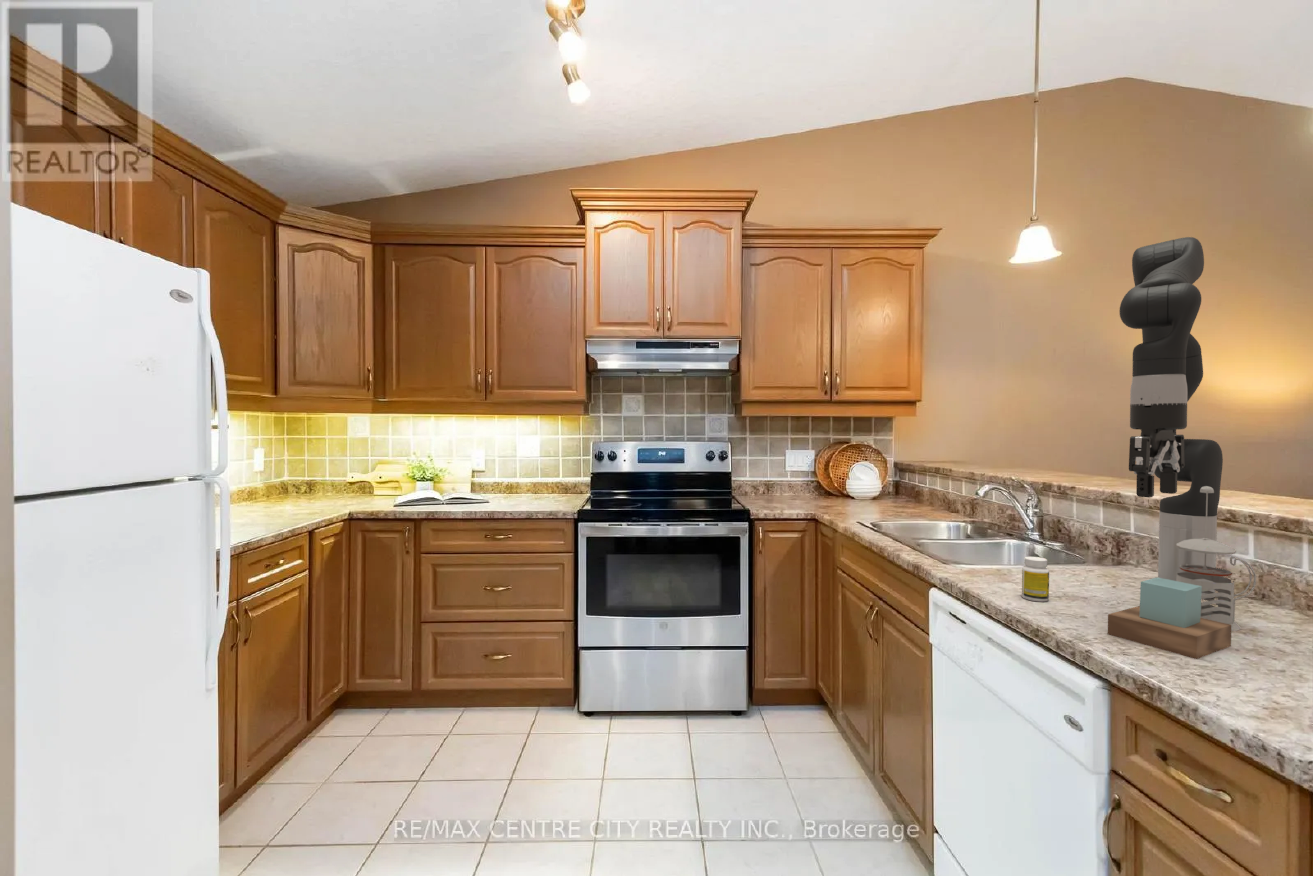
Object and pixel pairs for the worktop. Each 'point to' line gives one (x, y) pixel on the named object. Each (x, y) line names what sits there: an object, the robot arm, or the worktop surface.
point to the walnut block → (1170, 634)
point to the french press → (1213, 577)
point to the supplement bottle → (1035, 579)
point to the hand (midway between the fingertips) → (1156, 495)
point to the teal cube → (1170, 602)
